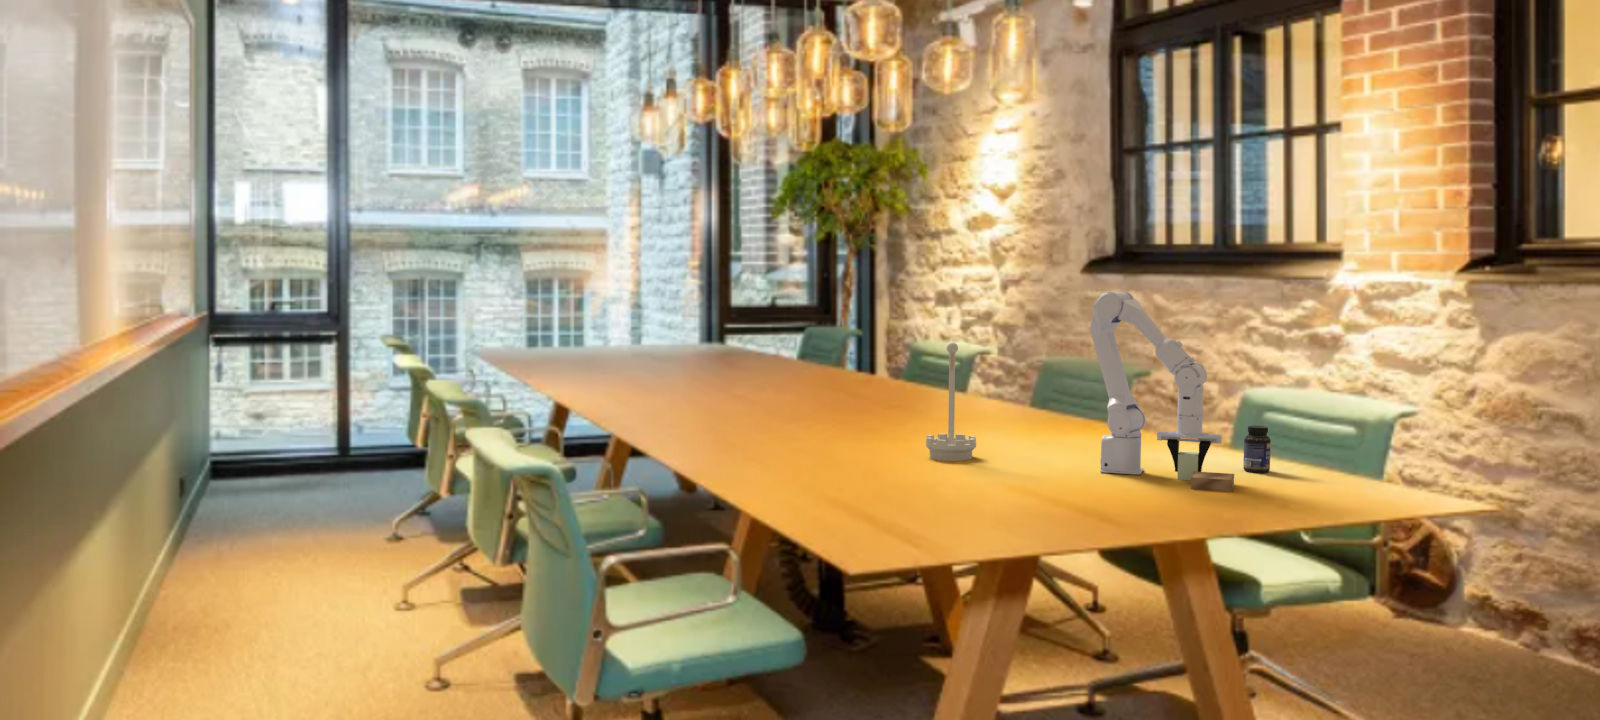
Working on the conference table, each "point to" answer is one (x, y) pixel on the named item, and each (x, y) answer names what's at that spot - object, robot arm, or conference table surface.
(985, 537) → the conference table surface
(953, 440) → the flag stand
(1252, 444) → the pill bottle
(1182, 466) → the sage block
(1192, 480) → the walnut box
